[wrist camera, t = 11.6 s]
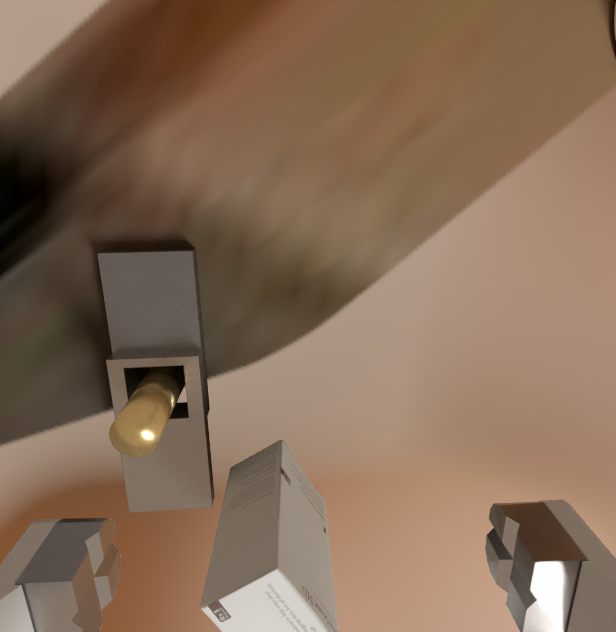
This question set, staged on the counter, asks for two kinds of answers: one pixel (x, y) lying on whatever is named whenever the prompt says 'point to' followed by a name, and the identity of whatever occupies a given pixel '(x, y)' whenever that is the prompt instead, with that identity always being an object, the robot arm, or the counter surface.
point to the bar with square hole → (160, 350)
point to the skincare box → (271, 551)
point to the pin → (147, 411)
